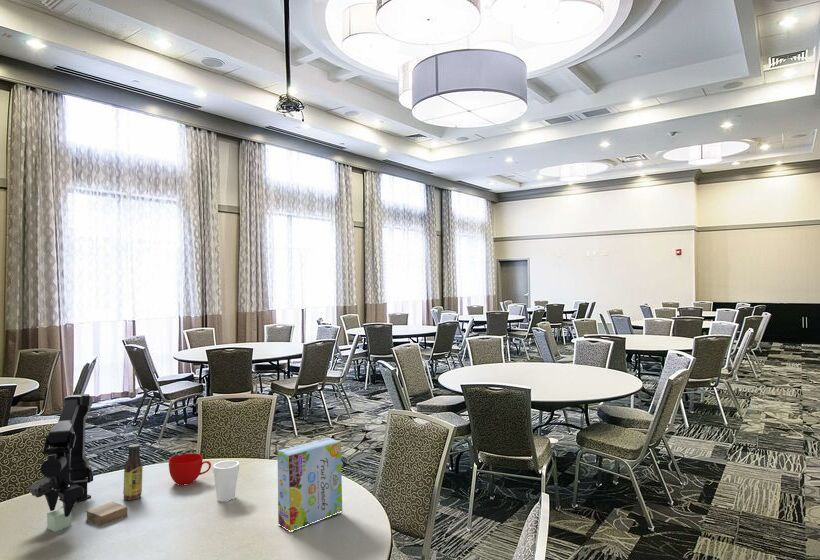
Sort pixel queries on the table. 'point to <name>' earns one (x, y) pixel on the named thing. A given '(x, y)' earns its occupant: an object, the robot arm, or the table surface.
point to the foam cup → (226, 479)
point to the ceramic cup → (186, 468)
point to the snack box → (309, 482)
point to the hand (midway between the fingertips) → (59, 513)
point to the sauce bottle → (133, 474)
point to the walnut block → (106, 513)
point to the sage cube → (58, 520)
